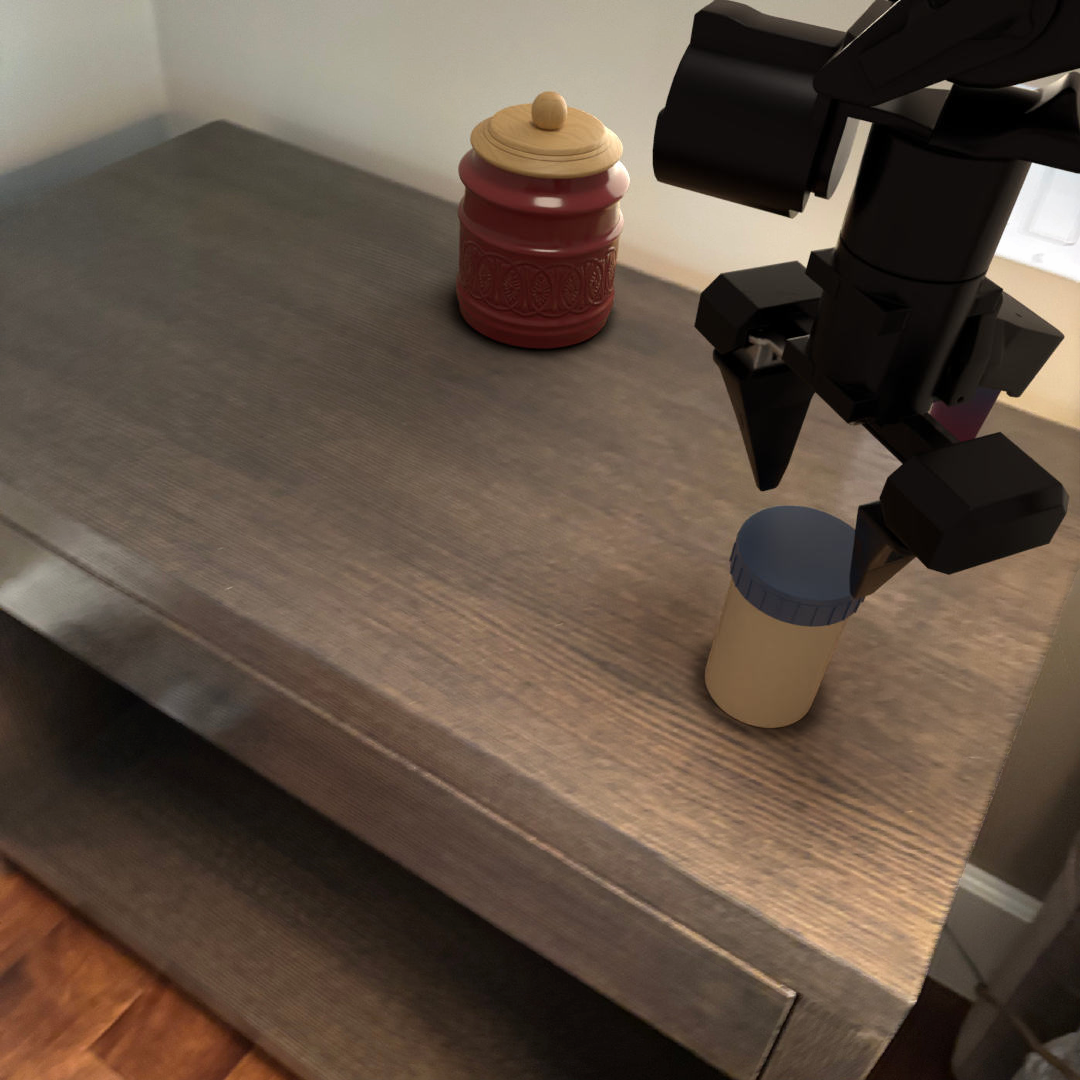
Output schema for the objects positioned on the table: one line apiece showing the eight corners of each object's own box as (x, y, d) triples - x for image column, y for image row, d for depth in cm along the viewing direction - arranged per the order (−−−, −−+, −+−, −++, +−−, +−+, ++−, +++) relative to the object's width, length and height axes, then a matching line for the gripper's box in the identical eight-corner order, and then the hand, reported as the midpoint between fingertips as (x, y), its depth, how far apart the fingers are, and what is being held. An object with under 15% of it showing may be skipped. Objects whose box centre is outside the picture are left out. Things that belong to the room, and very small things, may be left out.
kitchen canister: (640, 333, 84) (676, 116, 72) (499, 367, 79) (511, 141, 67) (563, 259, 92) (583, 52, 80) (430, 286, 87) (430, 70, 75)
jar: (808, 649, 60) (857, 523, 53) (818, 735, 56) (873, 610, 49) (703, 635, 60) (739, 508, 53) (704, 720, 56) (743, 594, 49)
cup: (921, 418, 78) (968, 303, 71) (980, 439, 77) (1035, 323, 70) (906, 450, 75) (955, 332, 68) (969, 472, 74) (1024, 354, 67)
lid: (856, 539, 55) (866, 513, 53) (872, 636, 50) (884, 610, 48) (727, 523, 55) (734, 496, 53) (730, 618, 50) (738, 591, 48)
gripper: (1262, 338, 36) (1072, 630, 47) (922, 130, 48) (833, 400, 59) (1025, 397, 32) (878, 699, 43) (720, 155, 44) (665, 439, 55)
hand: (811, 538), depth 50 cm, fingers open, 8 cm apart
